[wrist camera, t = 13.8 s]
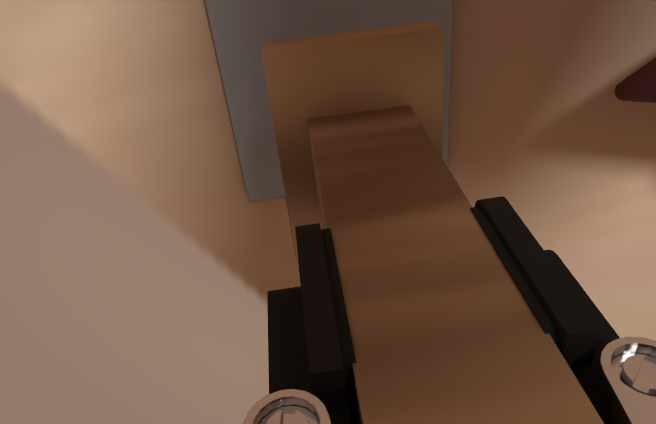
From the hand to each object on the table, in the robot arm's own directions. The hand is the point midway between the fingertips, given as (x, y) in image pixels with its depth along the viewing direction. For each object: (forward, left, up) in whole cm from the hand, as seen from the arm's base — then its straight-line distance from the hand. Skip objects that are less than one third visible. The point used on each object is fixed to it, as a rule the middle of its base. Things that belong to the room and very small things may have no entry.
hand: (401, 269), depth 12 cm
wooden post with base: (0, 0, -7) cm, 7 cm away
